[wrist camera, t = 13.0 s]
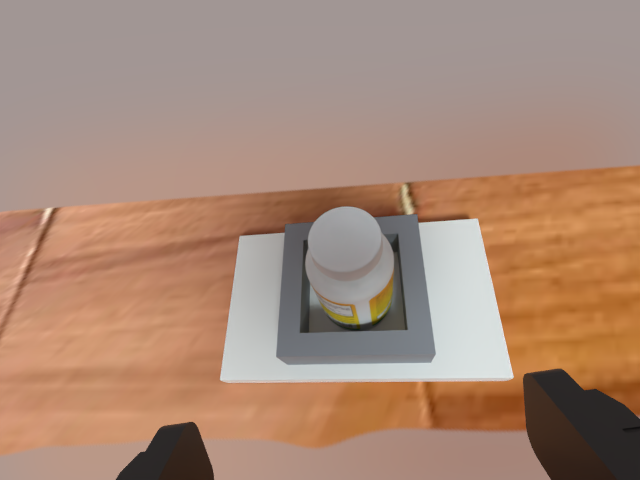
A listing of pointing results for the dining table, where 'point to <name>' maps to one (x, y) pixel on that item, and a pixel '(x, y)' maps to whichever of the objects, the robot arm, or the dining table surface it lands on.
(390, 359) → the collar board
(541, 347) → the dining table surface
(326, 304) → the supplement bottle
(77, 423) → the dining table surface
